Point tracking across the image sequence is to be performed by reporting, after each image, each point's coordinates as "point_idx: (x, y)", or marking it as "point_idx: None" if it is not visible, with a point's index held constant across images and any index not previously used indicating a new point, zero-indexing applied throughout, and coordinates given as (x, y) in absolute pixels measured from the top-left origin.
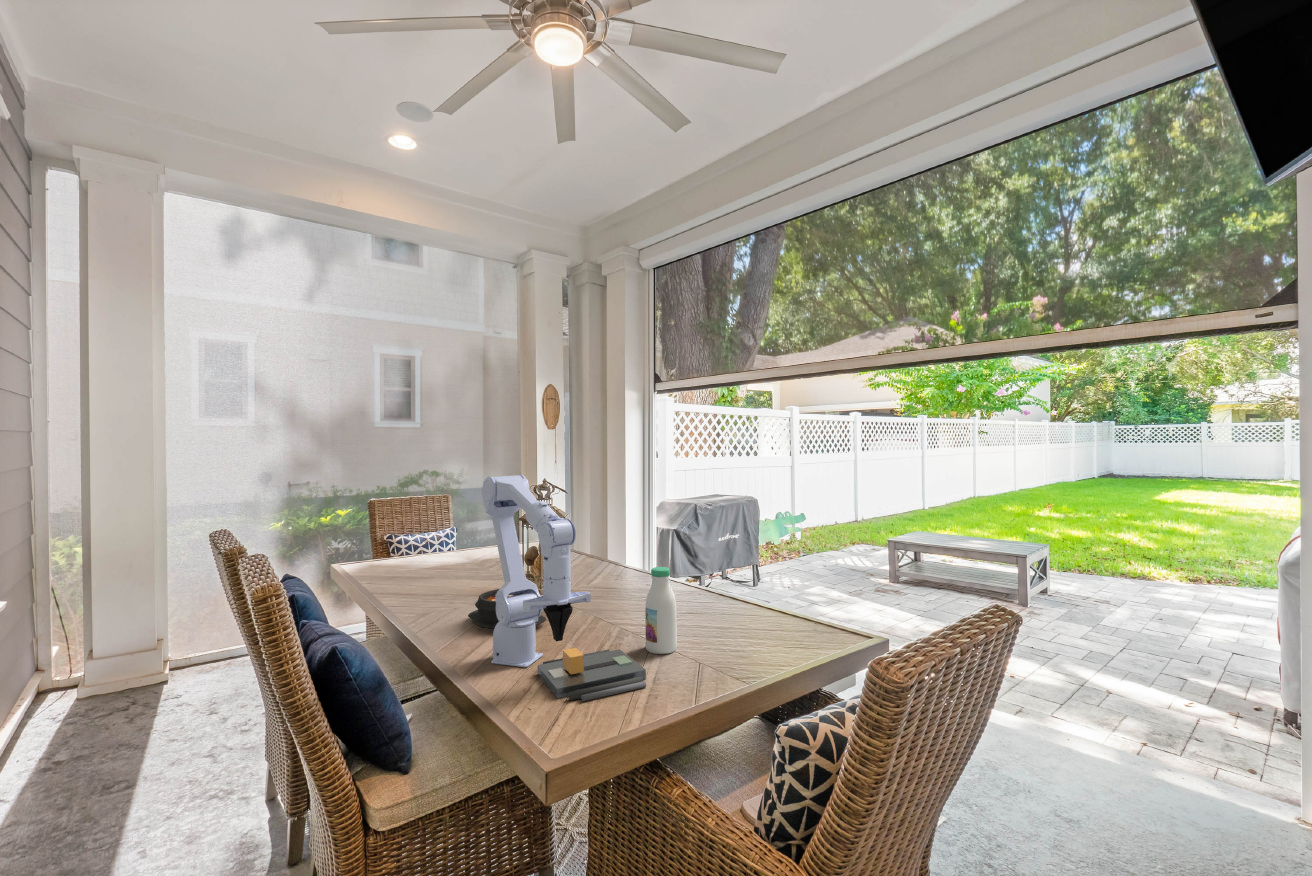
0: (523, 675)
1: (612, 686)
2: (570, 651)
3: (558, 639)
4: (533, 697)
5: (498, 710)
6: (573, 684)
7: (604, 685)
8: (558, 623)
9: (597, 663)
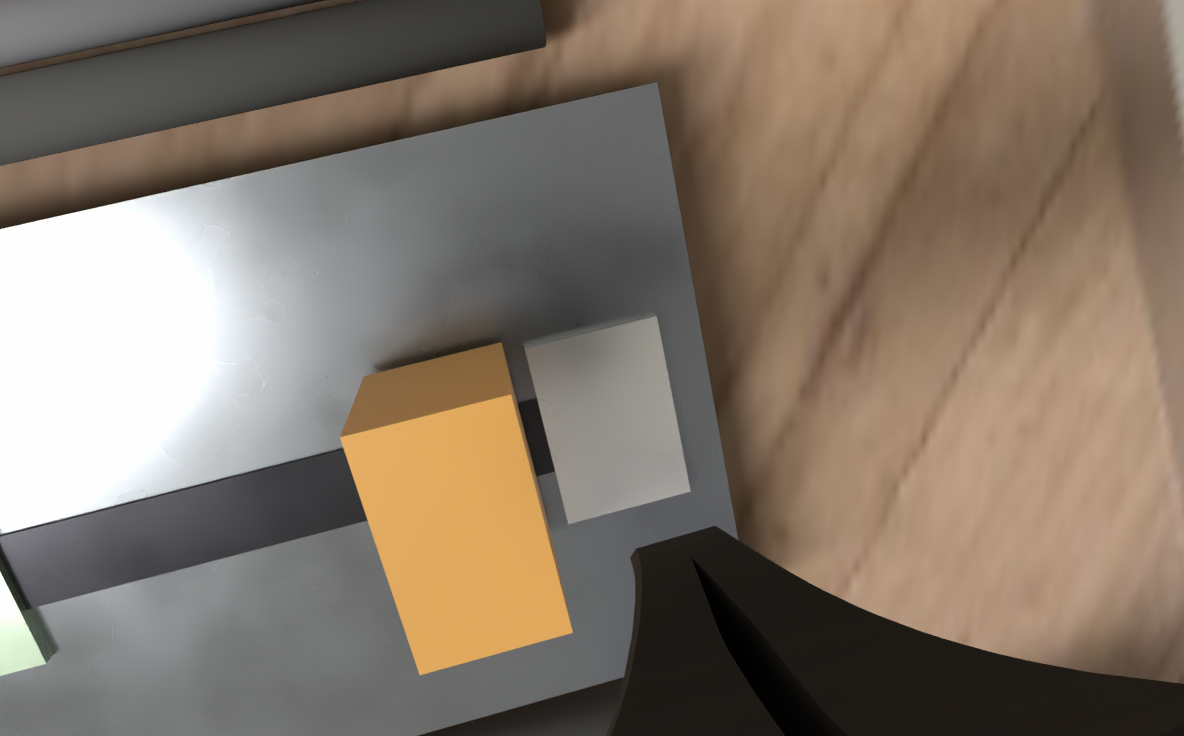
0: (832, 593)
1: (82, 62)
2: (491, 576)
3: (700, 535)
4: (817, 173)
5: (1096, 8)
6: (490, 136)
7: (166, 69)
8: (812, 653)
9: (213, 577)
